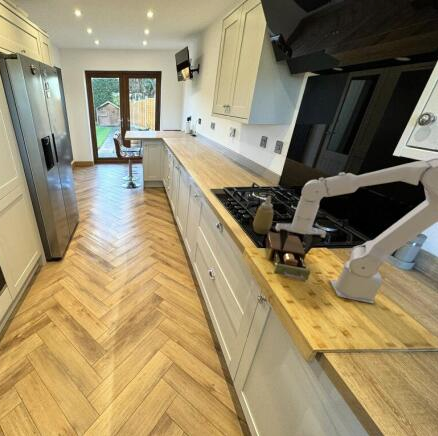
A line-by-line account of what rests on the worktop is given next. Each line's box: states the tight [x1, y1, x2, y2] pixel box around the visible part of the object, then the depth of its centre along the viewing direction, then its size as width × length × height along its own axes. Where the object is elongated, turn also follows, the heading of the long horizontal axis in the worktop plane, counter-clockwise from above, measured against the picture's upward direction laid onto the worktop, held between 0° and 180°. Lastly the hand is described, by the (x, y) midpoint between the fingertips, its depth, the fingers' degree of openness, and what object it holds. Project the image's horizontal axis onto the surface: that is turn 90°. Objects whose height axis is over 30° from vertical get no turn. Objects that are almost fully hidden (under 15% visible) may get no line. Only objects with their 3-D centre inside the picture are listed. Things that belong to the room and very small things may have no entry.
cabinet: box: [264, 231, 307, 262], centre depth 96 cm, size 14×12×6 cm
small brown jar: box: [283, 253, 298, 267], centre depth 86 cm, size 4×5×4 cm
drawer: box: [273, 250, 312, 283], centre depth 85 cm, size 17×10×4 cm, turn 161°
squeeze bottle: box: [252, 195, 275, 235], centre depth 109 cm, size 8×8×18 cm
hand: (293, 250), depth 84 cm, fingers open, 7 cm apart
